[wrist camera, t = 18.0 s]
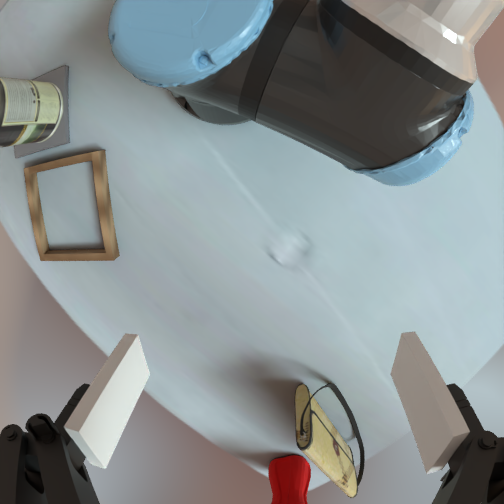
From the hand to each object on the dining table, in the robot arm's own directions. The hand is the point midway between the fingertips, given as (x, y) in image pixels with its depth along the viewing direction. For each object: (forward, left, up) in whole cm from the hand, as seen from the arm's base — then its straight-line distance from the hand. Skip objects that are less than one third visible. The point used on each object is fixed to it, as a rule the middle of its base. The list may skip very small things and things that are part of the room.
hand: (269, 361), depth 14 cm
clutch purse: (+41, +12, -29) cm, 51 cm away
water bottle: (+61, +4, -29) cm, 68 cm away
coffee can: (-20, -36, -28) cm, 49 cm away
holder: (-3, -32, -29) cm, 43 cm away
